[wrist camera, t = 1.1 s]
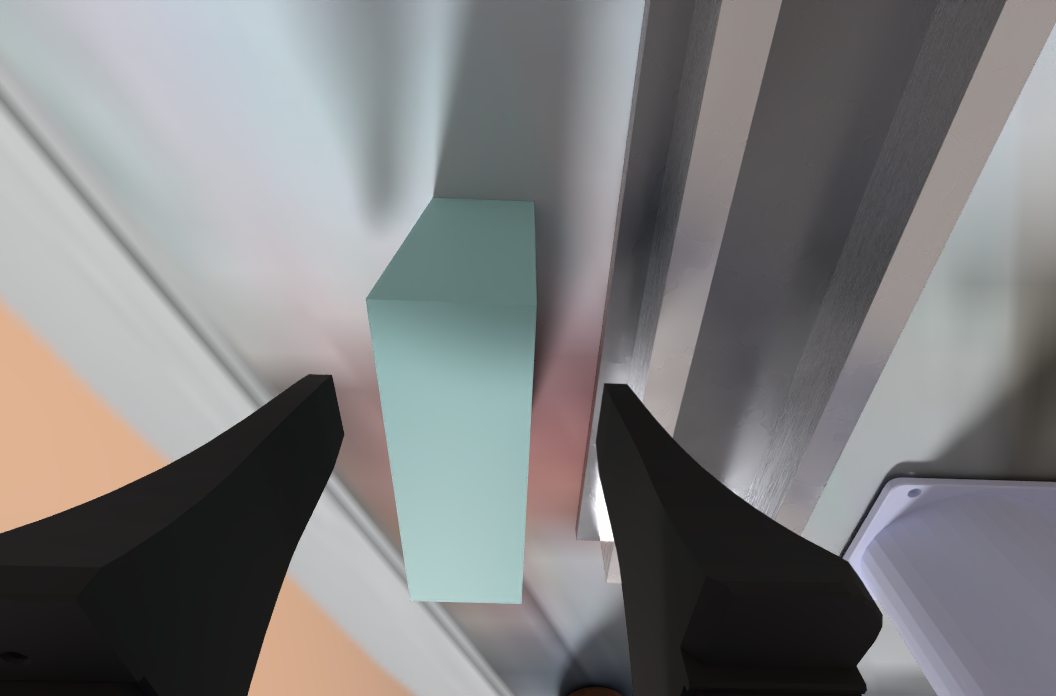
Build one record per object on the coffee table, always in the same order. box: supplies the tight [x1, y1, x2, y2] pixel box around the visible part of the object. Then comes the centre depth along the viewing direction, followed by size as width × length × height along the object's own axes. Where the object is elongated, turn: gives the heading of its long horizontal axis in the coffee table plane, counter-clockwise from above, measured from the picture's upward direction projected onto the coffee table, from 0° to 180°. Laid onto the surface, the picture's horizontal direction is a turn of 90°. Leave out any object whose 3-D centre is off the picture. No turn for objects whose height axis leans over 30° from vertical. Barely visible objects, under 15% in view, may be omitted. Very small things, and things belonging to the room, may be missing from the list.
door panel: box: [366, 198, 537, 604], centre depth 14 cm, size 3×9×7 cm, turn 178°
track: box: [575, 0, 1056, 583], centre depth 15 cm, size 9×22×3 cm, turn 178°
